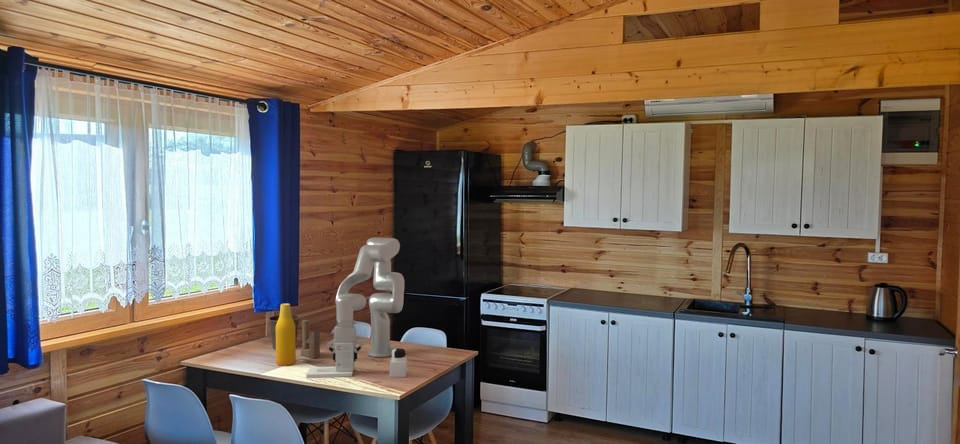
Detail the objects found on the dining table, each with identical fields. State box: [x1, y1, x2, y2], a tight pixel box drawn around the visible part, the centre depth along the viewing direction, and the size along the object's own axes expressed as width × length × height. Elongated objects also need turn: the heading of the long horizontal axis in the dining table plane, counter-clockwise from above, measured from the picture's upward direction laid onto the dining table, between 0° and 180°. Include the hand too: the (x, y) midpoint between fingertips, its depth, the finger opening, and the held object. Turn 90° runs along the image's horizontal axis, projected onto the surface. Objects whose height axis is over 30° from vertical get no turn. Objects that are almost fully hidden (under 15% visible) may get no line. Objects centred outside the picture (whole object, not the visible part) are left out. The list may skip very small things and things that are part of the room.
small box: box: [335, 343, 355, 372], centre depth 298 cm, size 8×6×13 cm
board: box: [305, 365, 354, 379], centre depth 298 cm, size 20×12×2 cm, turn 97°
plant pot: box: [267, 314, 301, 350], centre depth 344 cm, size 16×16×16 cm
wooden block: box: [300, 319, 321, 359], centre depth 326 cm, size 4×11×18 cm, turn 54°
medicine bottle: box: [389, 348, 408, 378], centre depth 295 cm, size 7×7×12 cm
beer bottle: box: [275, 303, 297, 367], centre depth 313 cm, size 9×9×29 cm
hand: (345, 360), depth 298 cm, fingers closed on small box, 8 cm apart
